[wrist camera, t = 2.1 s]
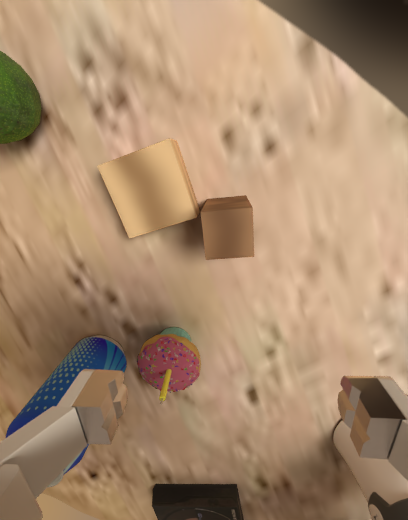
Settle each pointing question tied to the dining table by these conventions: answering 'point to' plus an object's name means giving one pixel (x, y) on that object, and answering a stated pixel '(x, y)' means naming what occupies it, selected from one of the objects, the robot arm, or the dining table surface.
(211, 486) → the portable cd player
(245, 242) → the walnut block
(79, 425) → the robot arm
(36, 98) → the avocado
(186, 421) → the dining table surface
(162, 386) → the cupcake
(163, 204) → the oak block
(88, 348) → the beer can
